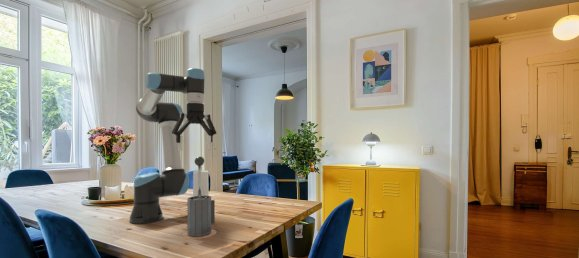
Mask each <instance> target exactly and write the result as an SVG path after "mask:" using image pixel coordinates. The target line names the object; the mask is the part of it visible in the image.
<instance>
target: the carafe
mask: <svg viewBox="0 0 579 258" xmlns="http://www.w3.org/2000/svg"><path fill="white" fill-rule="evenodd" d="M201 198H206V199H200V200H193V199H198V196H190V197H187V209H186V210H187V211H186V212H187V220H186V221H187V223H186V224H187V229H186V230H187V231H186V232H187V233H188V236H190V237H203V236H207V235H209V234H211V229H212V225H213V224H215V222H216V221H215V217H216V216H215V214H216V213H215V207H216V205H215V199H212V196H210V195H208V196H201Z"/></svg>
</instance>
